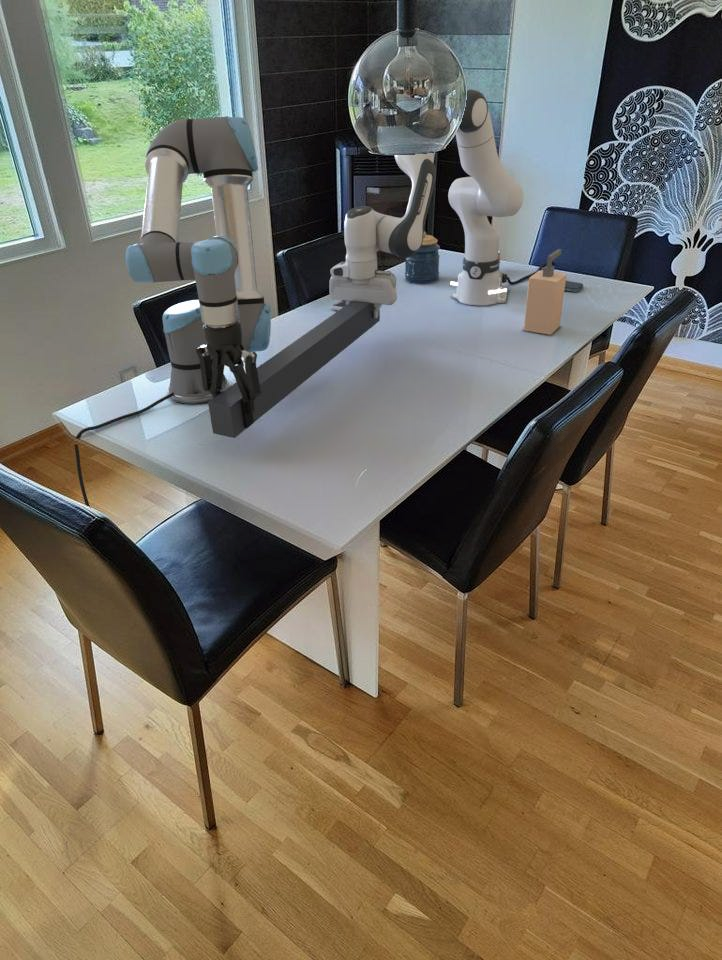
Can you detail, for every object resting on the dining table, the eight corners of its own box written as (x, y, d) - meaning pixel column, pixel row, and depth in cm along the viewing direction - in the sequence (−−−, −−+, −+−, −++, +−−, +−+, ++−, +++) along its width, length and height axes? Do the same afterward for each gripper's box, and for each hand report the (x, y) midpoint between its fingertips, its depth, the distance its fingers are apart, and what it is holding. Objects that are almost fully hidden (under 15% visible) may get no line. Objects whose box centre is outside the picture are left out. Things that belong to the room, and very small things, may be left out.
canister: (411, 285, 249) (411, 236, 239) (400, 276, 259) (400, 228, 250) (444, 281, 252) (445, 232, 242) (431, 272, 262) (432, 225, 253)
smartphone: (373, 297, 235) (349, 309, 225) (373, 300, 236) (349, 313, 226) (355, 294, 239) (330, 305, 229) (356, 297, 240) (331, 309, 229)
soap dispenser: (550, 335, 203) (559, 261, 191) (523, 330, 207) (530, 257, 195) (564, 322, 212) (573, 250, 200) (538, 317, 216) (545, 247, 204)
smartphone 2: (577, 289, 235) (536, 281, 242) (576, 293, 236) (535, 286, 243) (584, 283, 240) (544, 276, 247) (583, 287, 241) (543, 280, 248)
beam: (234, 438, 143) (229, 406, 139) (213, 433, 146) (207, 402, 141) (379, 320, 201) (379, 296, 197) (362, 318, 203) (362, 293, 199)
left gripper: (271, 320, 135) (282, 422, 148) (193, 310, 141) (210, 408, 154) (251, 333, 129) (264, 438, 142) (172, 322, 136) (191, 423, 148)
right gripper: (400, 268, 188) (400, 316, 196) (334, 263, 195) (338, 309, 203) (391, 275, 183) (392, 323, 191) (325, 269, 191) (328, 316, 198)
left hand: (236, 422), depth 148 cm, fingers closed on beam, 6 cm apart
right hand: (364, 316), depth 197 cm, fingers closed on beam, 5 cm apart
